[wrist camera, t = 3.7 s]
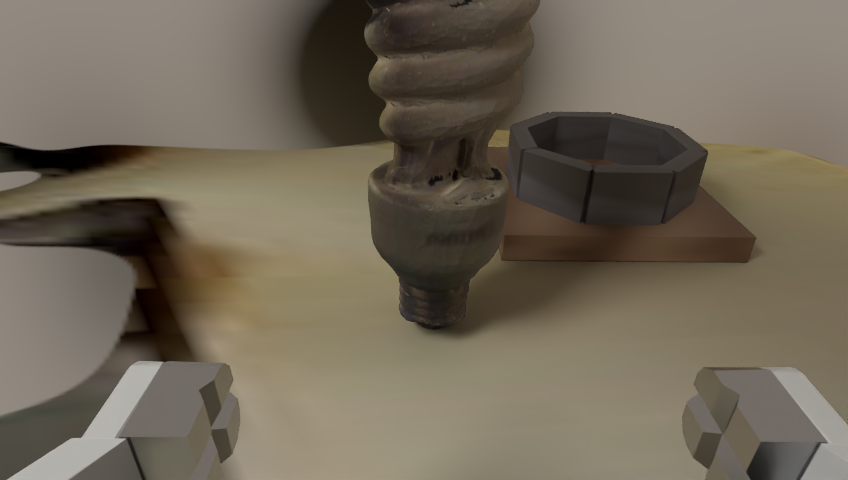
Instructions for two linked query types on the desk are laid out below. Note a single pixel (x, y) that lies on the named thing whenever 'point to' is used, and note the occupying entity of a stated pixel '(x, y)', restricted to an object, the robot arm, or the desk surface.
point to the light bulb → (443, 141)
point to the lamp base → (611, 193)
